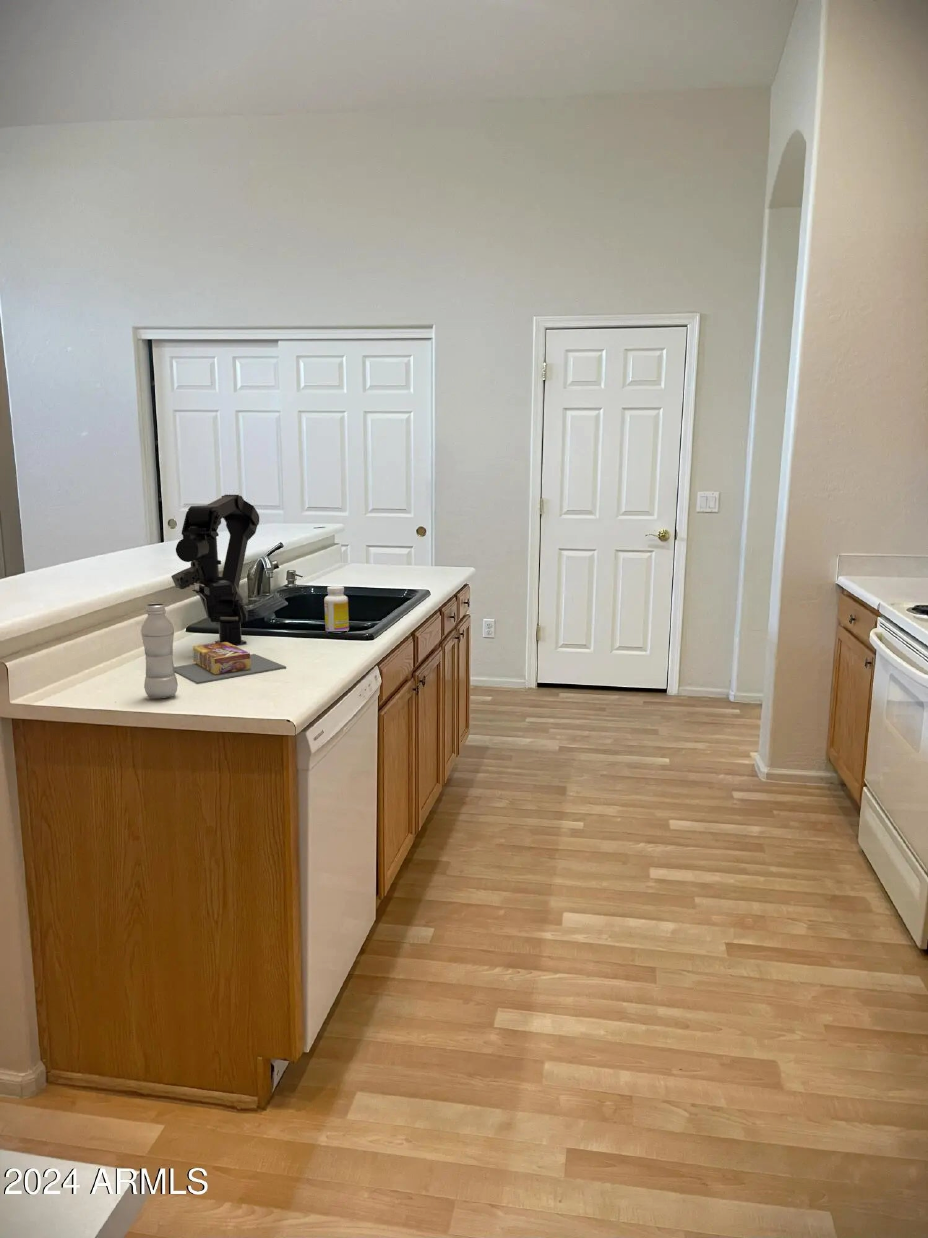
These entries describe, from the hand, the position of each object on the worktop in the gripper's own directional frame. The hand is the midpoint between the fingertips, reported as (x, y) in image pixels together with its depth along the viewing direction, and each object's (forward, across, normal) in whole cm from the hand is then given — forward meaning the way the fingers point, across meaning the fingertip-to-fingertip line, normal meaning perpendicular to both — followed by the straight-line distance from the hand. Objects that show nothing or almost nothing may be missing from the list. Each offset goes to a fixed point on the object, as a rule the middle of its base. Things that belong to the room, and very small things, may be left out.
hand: (210, 617), depth 223 cm
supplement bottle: (+10, -4, +38) cm, 40 cm away
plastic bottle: (+9, +32, -24) cm, 41 cm away
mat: (+9, +17, -3) cm, 20 cm away
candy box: (+7, +8, -3) cm, 11 cm away
